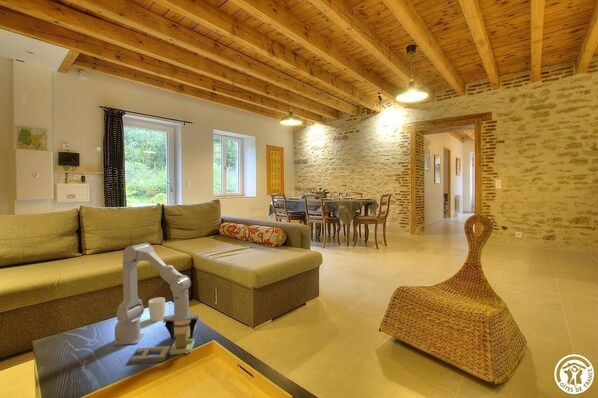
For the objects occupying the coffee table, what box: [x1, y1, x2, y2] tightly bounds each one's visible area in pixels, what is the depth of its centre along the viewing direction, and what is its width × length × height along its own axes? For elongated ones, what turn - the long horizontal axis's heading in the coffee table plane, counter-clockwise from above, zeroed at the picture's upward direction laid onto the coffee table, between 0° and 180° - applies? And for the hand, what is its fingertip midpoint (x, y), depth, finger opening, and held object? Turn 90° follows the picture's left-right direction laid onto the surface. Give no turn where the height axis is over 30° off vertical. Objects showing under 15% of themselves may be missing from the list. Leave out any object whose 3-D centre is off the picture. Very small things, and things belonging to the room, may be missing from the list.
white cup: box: [148, 296, 166, 323], centre depth 152 cm, size 8×8×10 cm
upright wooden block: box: [175, 329, 189, 349], centre depth 123 cm, size 4×4×7 cm
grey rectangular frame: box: [128, 345, 171, 364], centre depth 118 cm, size 13×8×2 cm, turn 97°
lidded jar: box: [174, 320, 197, 339], centre depth 134 cm, size 11×11×9 cm
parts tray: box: [169, 338, 195, 356], centre depth 123 cm, size 8×8×2 cm
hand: (182, 337), depth 123 cm, fingers open, 7 cm apart
